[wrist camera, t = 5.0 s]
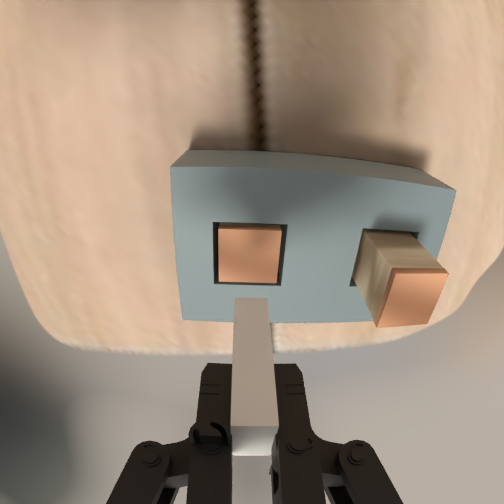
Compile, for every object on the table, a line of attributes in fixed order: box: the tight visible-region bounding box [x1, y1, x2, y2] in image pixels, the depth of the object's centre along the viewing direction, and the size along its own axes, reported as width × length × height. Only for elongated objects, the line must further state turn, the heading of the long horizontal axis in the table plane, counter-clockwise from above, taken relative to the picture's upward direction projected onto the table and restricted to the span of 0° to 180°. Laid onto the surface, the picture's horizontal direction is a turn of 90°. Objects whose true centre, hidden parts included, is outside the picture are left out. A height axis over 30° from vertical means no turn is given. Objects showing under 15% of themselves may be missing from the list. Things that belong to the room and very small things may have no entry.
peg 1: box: [218, 222, 282, 283], centre depth 23 cm, size 4×4×6 cm
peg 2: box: [352, 228, 449, 328], centre depth 19 cm, size 4×4×6 cm
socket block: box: [170, 150, 456, 323], centre depth 23 cm, size 12×20×6 cm, turn 87°
